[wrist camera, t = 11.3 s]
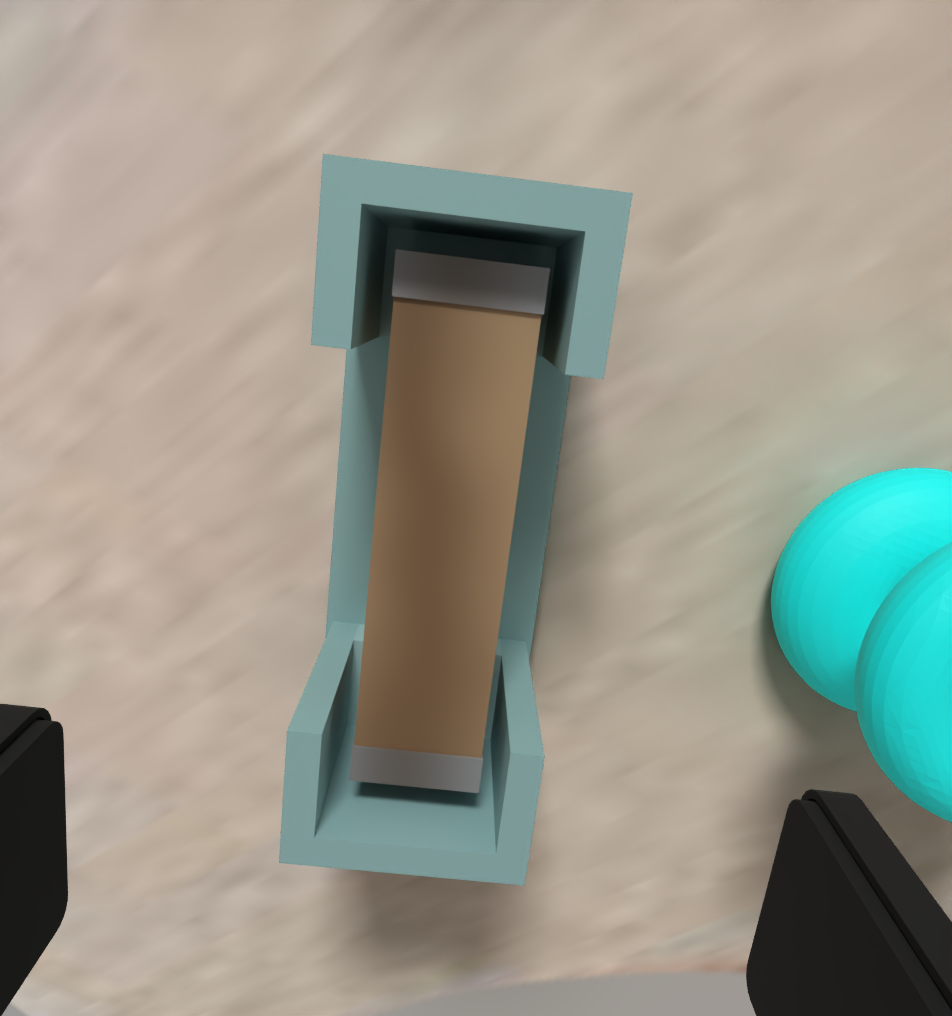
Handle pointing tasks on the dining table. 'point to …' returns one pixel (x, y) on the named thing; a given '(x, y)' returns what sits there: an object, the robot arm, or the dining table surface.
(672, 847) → the dining table surface
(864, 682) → the donuts
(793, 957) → the robot arm
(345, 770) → the slotted posts
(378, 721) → the brown rectangular bar
